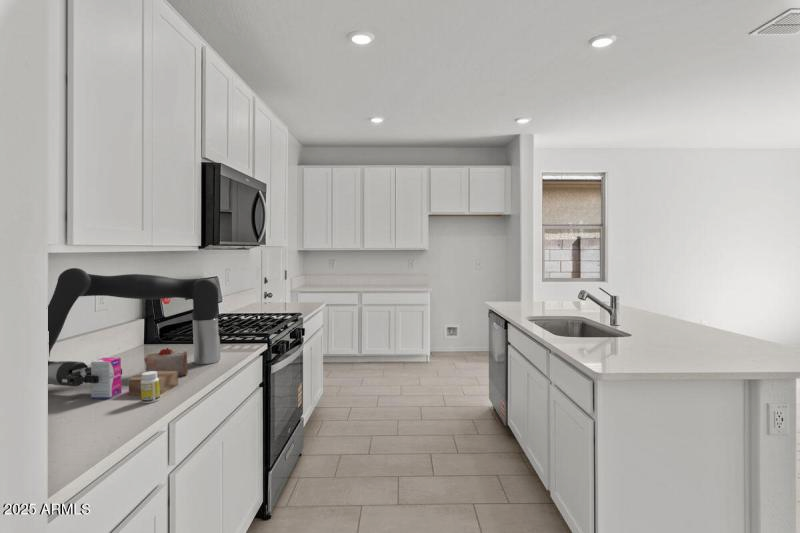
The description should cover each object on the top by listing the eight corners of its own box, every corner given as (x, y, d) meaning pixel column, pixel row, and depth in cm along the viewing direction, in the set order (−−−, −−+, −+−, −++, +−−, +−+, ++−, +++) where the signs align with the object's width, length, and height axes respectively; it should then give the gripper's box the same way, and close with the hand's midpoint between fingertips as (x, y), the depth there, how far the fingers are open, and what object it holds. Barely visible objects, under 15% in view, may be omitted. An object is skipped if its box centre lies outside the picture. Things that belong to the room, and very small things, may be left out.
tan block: (149, 385, 149) (149, 370, 149) (178, 386, 149) (177, 371, 148) (129, 395, 139) (128, 379, 139) (159, 395, 139) (159, 379, 138)
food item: (142, 381, 154) (141, 352, 154) (147, 375, 162) (146, 348, 161) (186, 377, 158) (185, 349, 158) (189, 371, 166) (188, 344, 166)
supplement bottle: (155, 397, 137) (154, 369, 136) (162, 400, 134) (161, 372, 133) (138, 401, 133) (137, 373, 133) (145, 404, 130) (144, 376, 130)
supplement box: (110, 399, 135) (108, 361, 135) (91, 399, 135) (89, 361, 135) (122, 393, 141) (121, 357, 141) (104, 393, 141) (102, 357, 141)
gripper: (43, 367, 134) (88, 369, 131) (86, 356, 148) (128, 357, 145) (45, 392, 135) (89, 395, 131) (87, 378, 148) (129, 380, 145)
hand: (109, 375), depth 138 cm, fingers open, 8 cm apart
